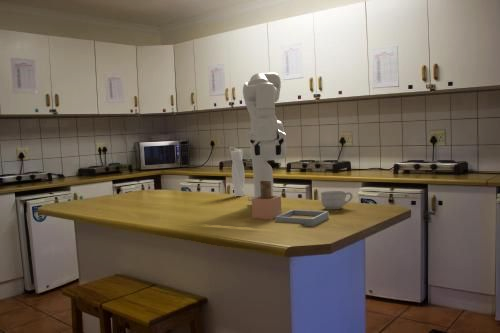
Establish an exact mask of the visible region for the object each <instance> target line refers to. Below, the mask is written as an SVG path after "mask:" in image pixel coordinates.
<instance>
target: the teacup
mask: <svg viewBox="0 0 500 333" xmlns="http://www.w3.org/2000/svg"><path fill="white" fill-rule="evenodd" d="M347 195H350V196H349V199H348V200H346V198H347ZM320 196H321V197H320V198H321V205H322V206H323V208H325V210H340V209H342V208H344V206H346V205H347V204H348V203H349V202H351V201H352V199H353V197H354V196H353V193H352V192H350V191H344V190H328V191H327V190H326V191H321V192H320Z"/></svg>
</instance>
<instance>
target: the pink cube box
mask: <svg viewBox="0 0 500 333" xmlns="http://www.w3.org/2000/svg"><path fill="white" fill-rule="evenodd" d="M282 212H283V211H282V196H281V195H274V196H272V198H271V199H261V196H259V197H256V198H252V201H251V215H252V219H262V220H275V217H276V216H278V215H281V214H283V213H282Z"/></svg>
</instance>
